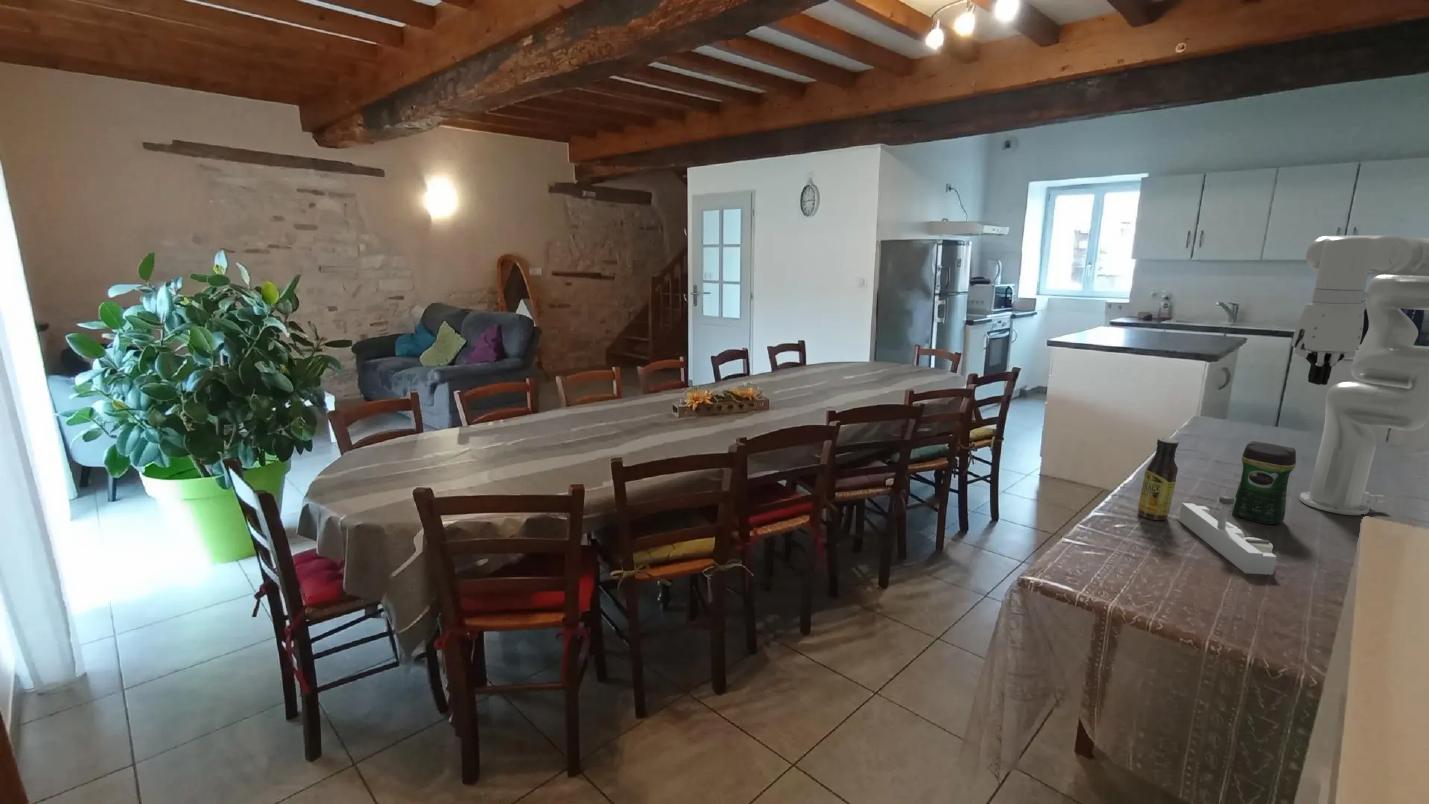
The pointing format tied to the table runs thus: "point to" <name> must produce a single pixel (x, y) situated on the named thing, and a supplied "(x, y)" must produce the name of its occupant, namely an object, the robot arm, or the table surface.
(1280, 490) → the coffee jar
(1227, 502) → the mount
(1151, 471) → the sauce bottle
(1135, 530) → the table surface
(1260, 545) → the knob slider
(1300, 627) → the table surface
